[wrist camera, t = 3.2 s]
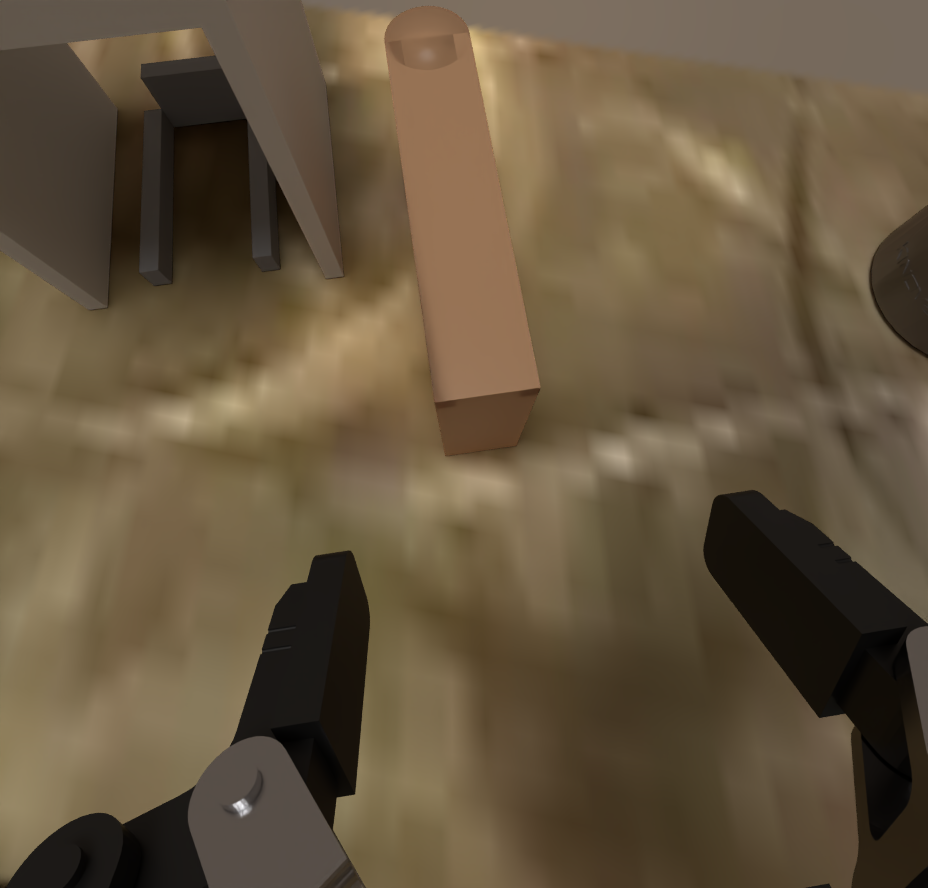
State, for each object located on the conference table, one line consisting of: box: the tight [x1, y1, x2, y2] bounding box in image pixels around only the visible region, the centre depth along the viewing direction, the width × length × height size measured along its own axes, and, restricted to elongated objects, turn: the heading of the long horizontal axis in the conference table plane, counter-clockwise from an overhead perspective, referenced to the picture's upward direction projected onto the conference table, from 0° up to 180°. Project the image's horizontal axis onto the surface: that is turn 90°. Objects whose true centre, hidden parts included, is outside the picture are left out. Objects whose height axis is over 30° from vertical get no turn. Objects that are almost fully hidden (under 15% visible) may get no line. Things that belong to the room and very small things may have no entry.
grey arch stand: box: [0, 0, 344, 310], centre depth 21 cm, size 14×14×14 cm
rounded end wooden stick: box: [384, 6, 541, 456], centre depth 22 cm, size 18×4×8 cm, turn 8°
